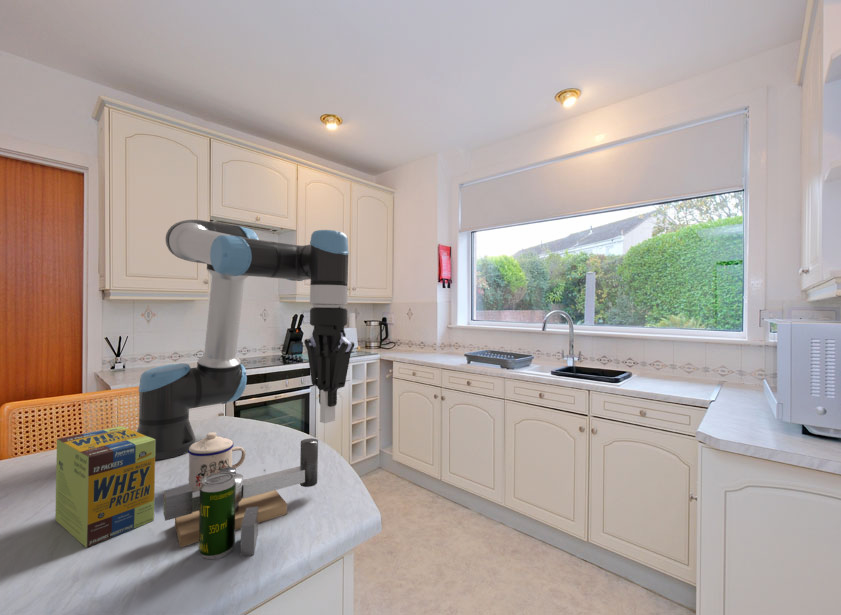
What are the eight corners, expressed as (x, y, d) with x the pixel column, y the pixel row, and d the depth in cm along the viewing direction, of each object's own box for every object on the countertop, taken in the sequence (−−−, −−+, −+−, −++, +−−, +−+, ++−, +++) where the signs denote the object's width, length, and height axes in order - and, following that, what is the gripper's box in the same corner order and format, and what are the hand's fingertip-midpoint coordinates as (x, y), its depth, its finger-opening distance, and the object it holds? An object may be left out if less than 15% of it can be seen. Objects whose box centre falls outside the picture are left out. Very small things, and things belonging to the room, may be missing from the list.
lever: (165, 529, 65) (166, 476, 65) (162, 516, 70) (163, 466, 70) (321, 485, 83) (322, 443, 83) (311, 476, 87) (312, 436, 87)
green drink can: (226, 536, 69) (227, 469, 69) (240, 549, 65) (241, 478, 65) (193, 550, 65) (194, 479, 65) (206, 565, 61) (207, 489, 61)
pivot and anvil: (213, 519, 74) (214, 469, 74) (244, 511, 77) (244, 462, 77) (231, 562, 62) (232, 502, 62) (267, 550, 65) (268, 492, 65)
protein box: (86, 549, 65) (87, 456, 65) (54, 520, 73) (55, 438, 73) (155, 520, 74) (157, 438, 74) (120, 498, 82) (121, 424, 82)
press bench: (174, 525, 72) (175, 514, 72) (274, 497, 83) (274, 488, 83) (180, 547, 66) (180, 535, 66) (286, 513, 77) (287, 503, 77)
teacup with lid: (192, 498, 82) (193, 443, 82) (183, 483, 89) (184, 432, 89) (251, 482, 90) (252, 431, 90) (239, 469, 97) (239, 422, 97)
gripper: (364, 307, 79) (363, 422, 79) (322, 306, 87) (321, 412, 87) (336, 306, 73) (335, 432, 73) (294, 306, 81) (292, 419, 81)
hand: (327, 421), depth 80 cm, fingers closed
